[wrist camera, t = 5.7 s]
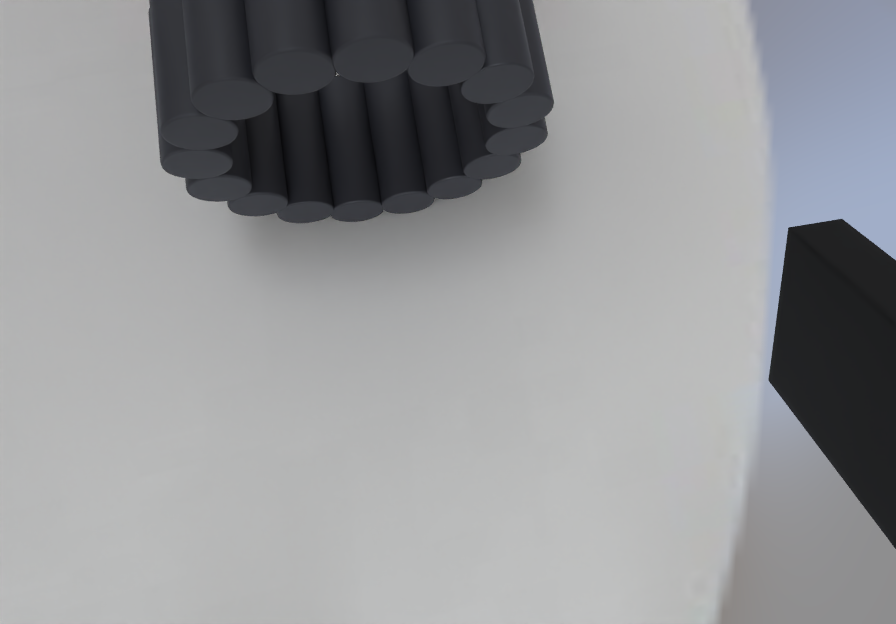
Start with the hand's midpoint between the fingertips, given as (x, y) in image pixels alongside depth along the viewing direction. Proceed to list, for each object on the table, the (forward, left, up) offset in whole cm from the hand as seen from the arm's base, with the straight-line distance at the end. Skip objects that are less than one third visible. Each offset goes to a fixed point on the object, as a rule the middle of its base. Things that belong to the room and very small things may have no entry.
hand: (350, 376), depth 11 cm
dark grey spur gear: (0, +10, -14) cm, 17 cm away
